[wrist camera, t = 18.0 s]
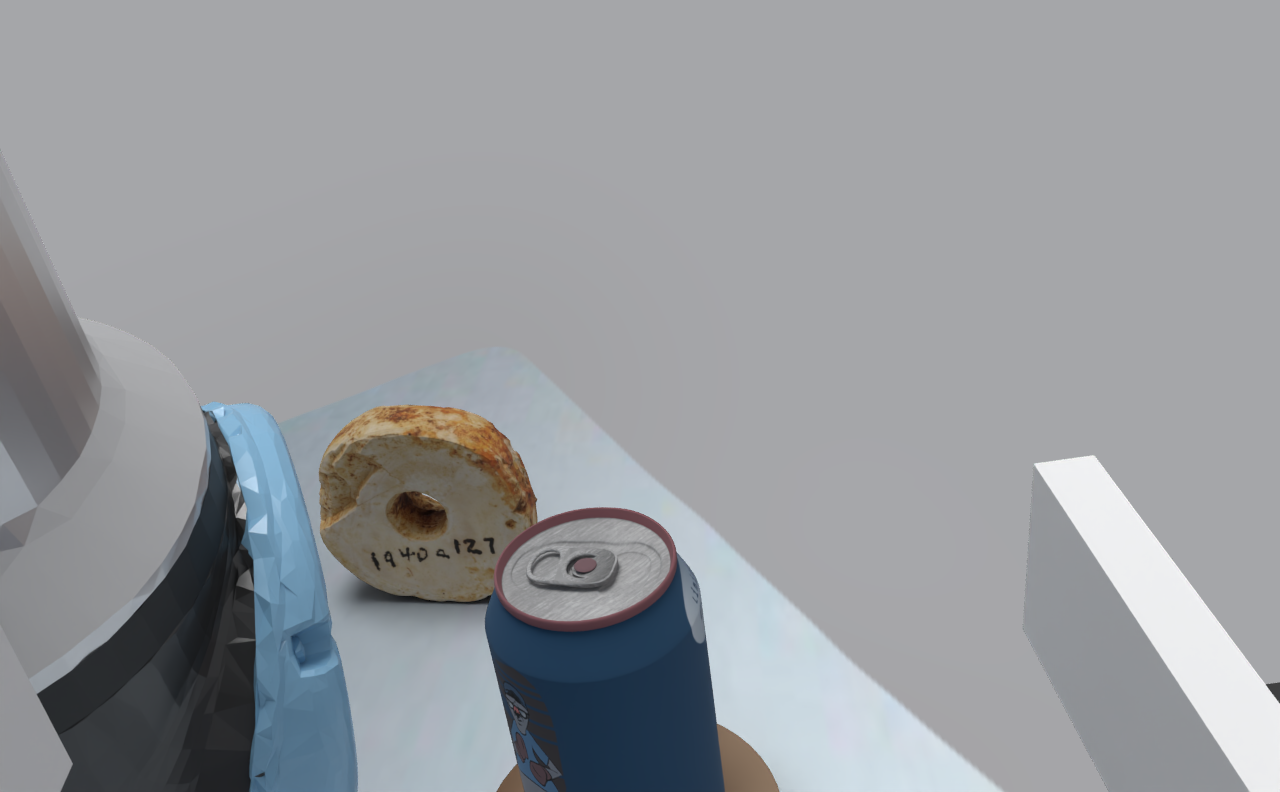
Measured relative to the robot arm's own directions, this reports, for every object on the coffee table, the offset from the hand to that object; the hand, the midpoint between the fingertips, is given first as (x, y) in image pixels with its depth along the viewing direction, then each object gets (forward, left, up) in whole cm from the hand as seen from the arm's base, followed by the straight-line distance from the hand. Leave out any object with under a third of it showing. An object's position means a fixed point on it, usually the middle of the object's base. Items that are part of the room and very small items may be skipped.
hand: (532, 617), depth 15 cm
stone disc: (-17, +31, -26) cm, 44 cm away
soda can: (-5, +17, -25) cm, 30 cm away
